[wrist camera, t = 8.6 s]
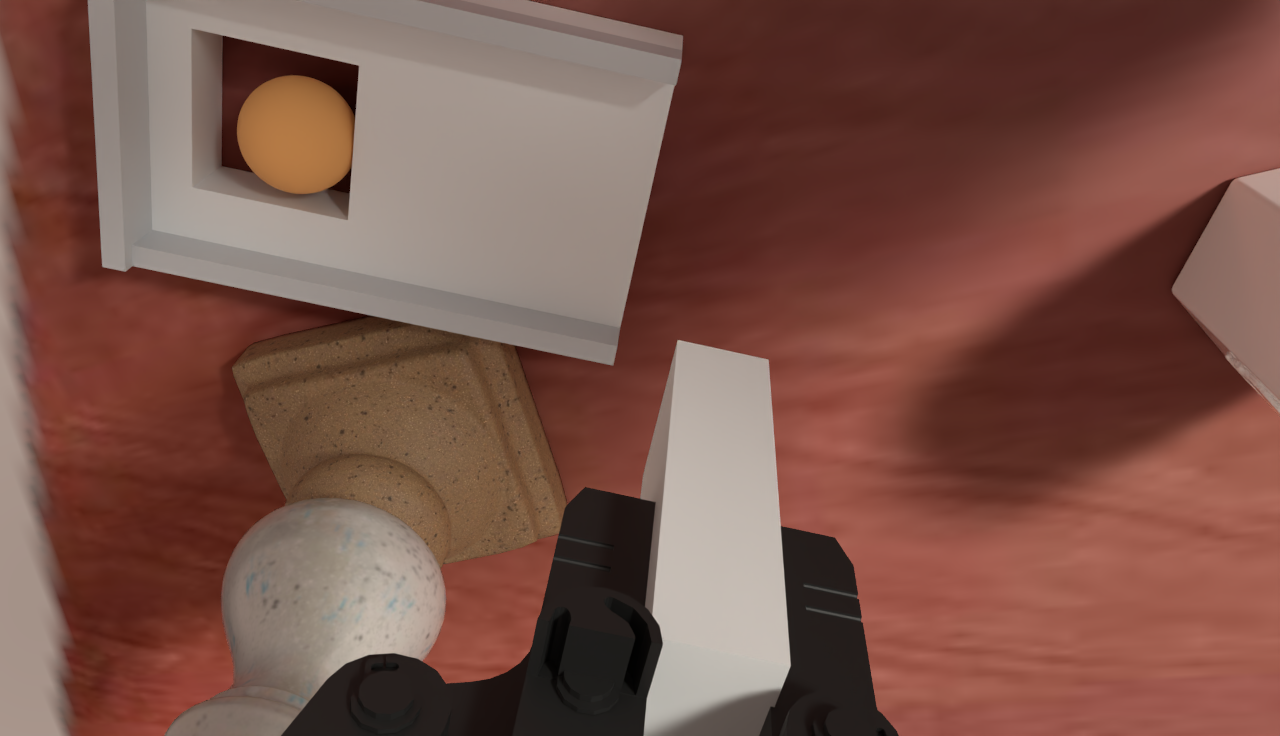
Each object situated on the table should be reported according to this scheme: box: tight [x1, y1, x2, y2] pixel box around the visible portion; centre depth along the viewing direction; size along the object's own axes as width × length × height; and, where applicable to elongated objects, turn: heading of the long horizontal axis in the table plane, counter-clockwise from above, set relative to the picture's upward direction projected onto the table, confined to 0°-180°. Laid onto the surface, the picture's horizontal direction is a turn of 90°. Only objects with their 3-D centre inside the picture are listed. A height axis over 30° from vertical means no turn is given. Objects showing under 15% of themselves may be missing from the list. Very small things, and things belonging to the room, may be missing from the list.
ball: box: [237, 75, 355, 194], centre depth 35 cm, size 4×4×4 cm
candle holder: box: [164, 316, 567, 736], centre depth 32 cm, size 11×11×24 cm
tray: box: [88, 0, 683, 365], centre depth 35 cm, size 11×18×4 cm, turn 78°
